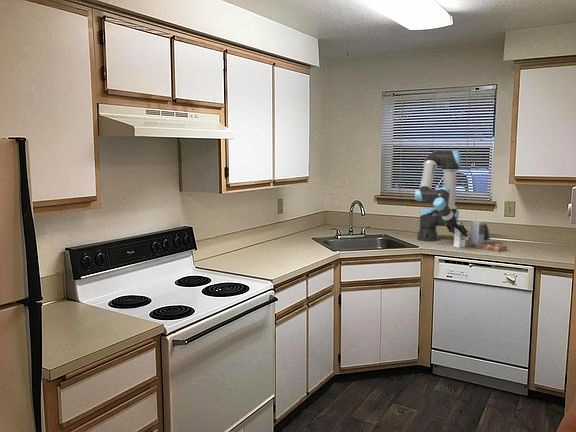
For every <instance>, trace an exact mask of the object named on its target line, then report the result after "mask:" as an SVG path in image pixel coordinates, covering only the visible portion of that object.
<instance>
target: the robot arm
mask: <svg viewBox="0 0 576 432" xmlns="http://www.w3.org/2000/svg"><path fill="white" fill-rule="evenodd" d="M422 166H423V167H422V168H423V172H422V176H421V178H420V179H421V180H420V185H419V189H415V191H414V199H415V201H418V202H432V204H433V207H426V208H422V209H421V210H420V214H419V230H418V233H417V235H416V240H419V241H424V242H436V241H439V235H438V231H437V227H446V229H447V230H448V232H449V233H452V234H453V235H454V227H455V228H456V229H458V230H459V231H460V232H461V233H462V236H463V237H464V239H465V240H466V242H467V241H468V240H469V239H470V237H469V236H468V230H467V228H465V227H464V226H465V225H464V223H463V222H461V221H460V222H459V220H458V219H459V214H460V211H459V210H458V207H457V206H456V192H457V191H456V189H457V188H456V187H457V172H458V171H459V169H460V168H462V157H461V153H460V151H459V150H453V149H452V150H434V151H432V152H430V153H429V154H428V155H427V156H426V157H425V159H424V160H423V164H422ZM437 168H441V170H442V172H443V178H442V179H443V180H442V182H443V183H442V184H443V185H442V187H439V188H438V189H437V190H436V189H432V187H433V181H434V177H435V171H436V170H437Z"/></svg>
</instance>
